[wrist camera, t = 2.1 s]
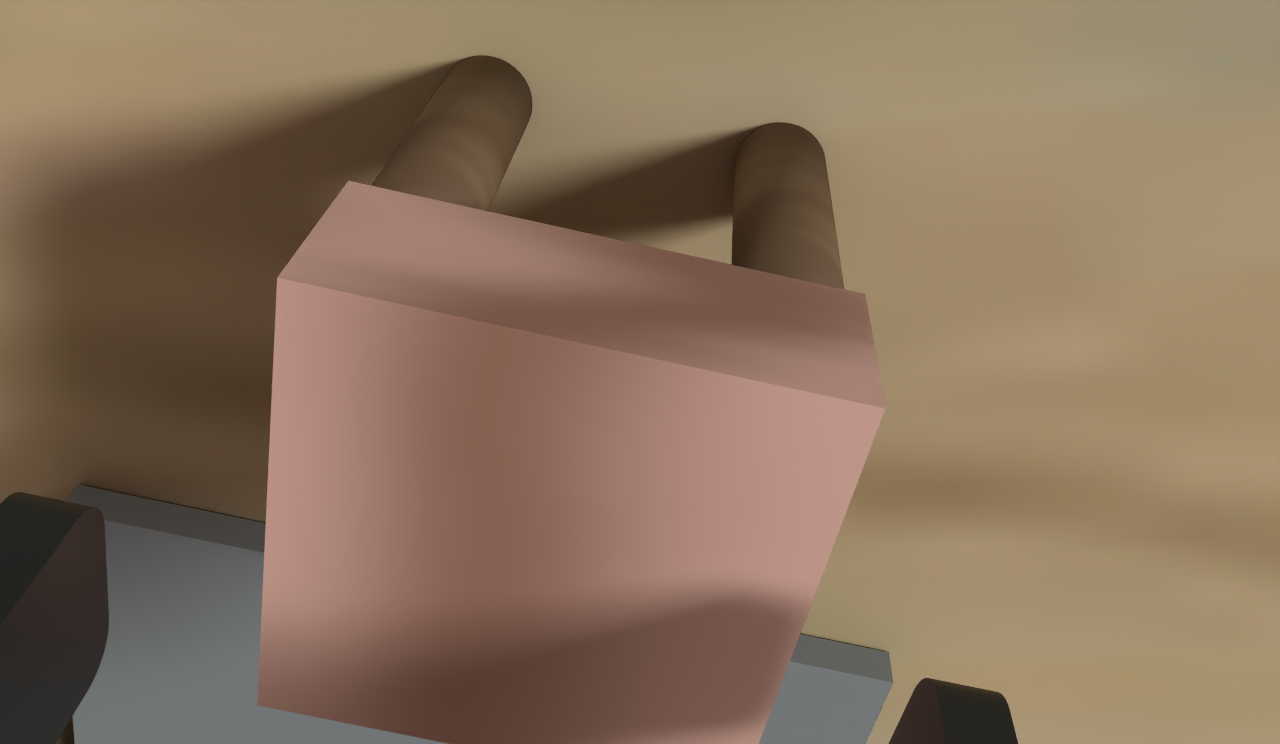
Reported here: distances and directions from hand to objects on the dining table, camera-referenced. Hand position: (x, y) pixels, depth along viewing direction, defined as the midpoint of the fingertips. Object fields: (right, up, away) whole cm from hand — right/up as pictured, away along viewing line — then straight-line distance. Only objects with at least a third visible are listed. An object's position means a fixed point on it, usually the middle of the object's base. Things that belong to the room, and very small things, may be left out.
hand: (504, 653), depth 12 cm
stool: (+1, +4, +8) cm, 9 cm away
